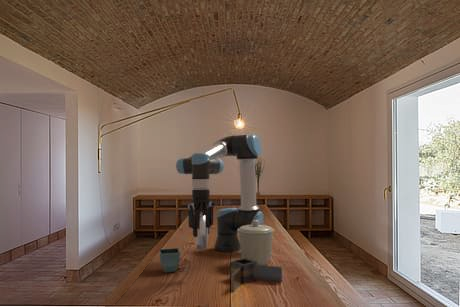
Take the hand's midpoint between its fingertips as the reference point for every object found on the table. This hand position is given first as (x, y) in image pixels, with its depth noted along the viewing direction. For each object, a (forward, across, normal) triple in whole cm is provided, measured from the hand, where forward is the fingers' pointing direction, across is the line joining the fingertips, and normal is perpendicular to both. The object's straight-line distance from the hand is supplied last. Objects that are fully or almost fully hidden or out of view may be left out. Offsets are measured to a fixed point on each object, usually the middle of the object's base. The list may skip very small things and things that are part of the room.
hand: (201, 243), depth 150 cm
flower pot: (+15, +6, -17) cm, 23 cm away
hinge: (+14, -9, +19) cm, 25 cm away
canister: (+15, -32, +2) cm, 35 cm away
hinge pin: (+2, 0, 0) cm, 2 cm away
